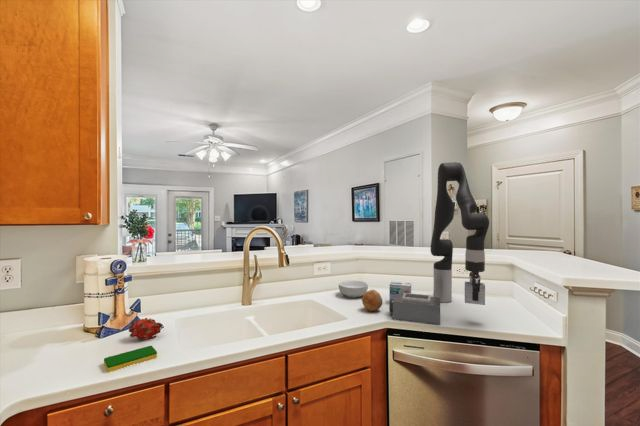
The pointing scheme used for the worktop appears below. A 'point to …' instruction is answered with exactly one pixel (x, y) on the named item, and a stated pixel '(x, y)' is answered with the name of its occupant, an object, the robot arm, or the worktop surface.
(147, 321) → the dragon fruit
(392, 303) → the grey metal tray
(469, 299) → the medicine box
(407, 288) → the light bulb box
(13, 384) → the worktop surface
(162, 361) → the worktop surface
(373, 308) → the onion
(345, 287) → the cereal bowl
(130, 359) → the dish sponge
